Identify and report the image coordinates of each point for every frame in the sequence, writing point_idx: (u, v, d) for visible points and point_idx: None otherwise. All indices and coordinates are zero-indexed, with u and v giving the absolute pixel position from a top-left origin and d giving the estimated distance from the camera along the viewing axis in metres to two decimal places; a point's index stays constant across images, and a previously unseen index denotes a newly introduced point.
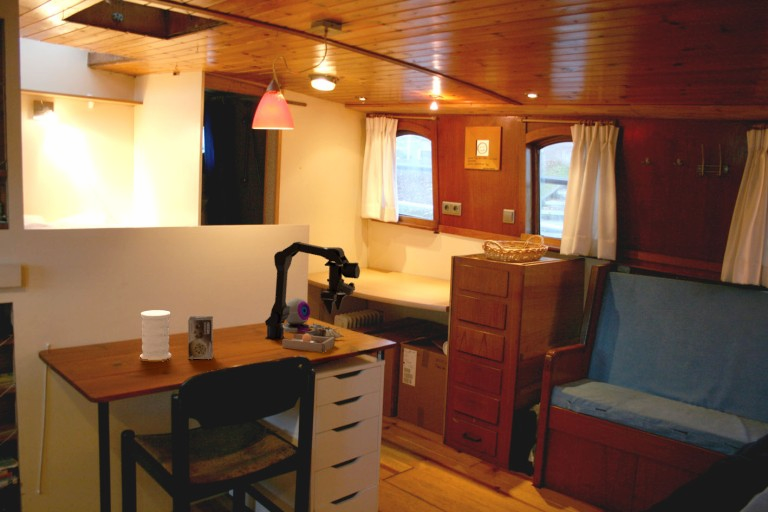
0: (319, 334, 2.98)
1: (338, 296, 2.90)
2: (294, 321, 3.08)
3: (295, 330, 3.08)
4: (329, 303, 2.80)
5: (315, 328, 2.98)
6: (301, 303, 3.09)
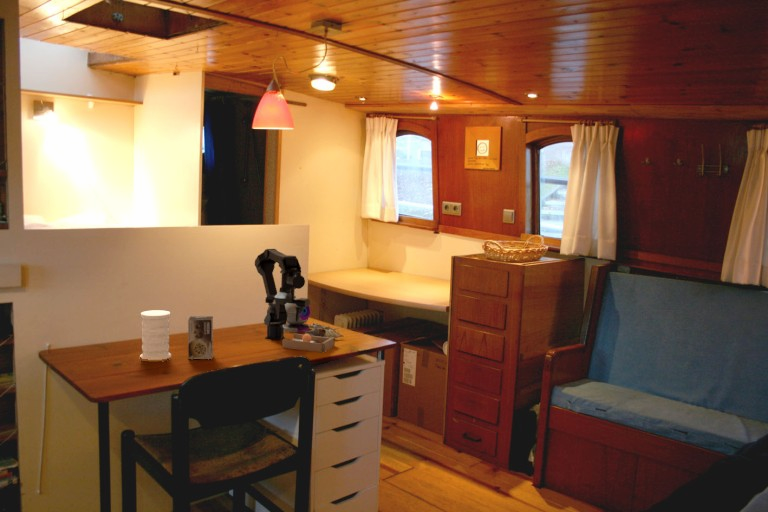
0: (319, 334, 2.98)
1: None
2: (294, 321, 3.08)
3: (295, 330, 3.08)
4: None
5: (315, 328, 2.99)
6: None
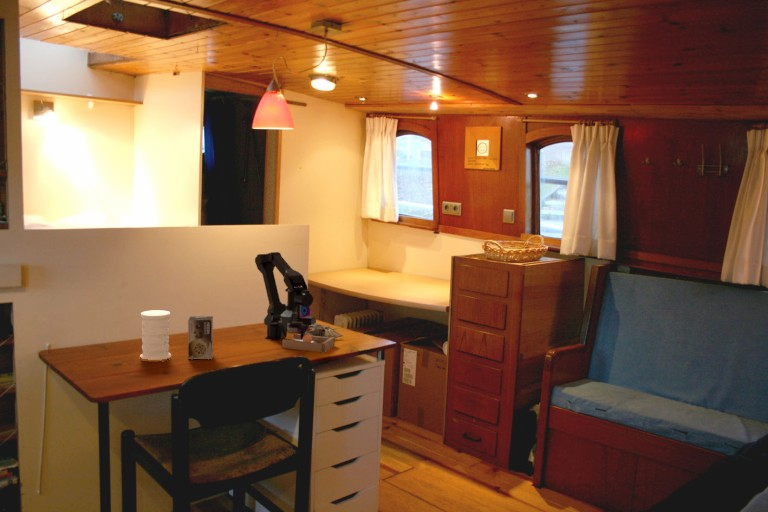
0: (319, 334, 2.99)
1: None
2: (294, 321, 3.08)
3: (295, 330, 3.08)
4: None
5: (315, 328, 2.99)
6: None
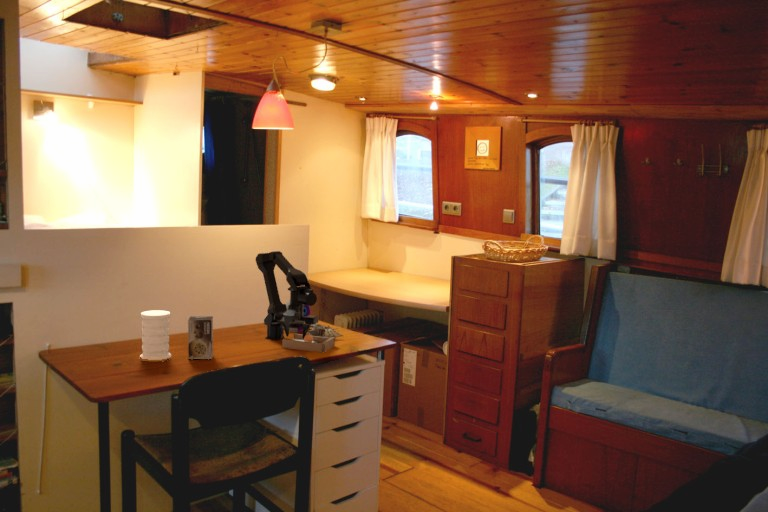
0: (318, 333, 2.99)
1: None
2: None
3: (295, 330, 3.08)
4: None
5: (315, 327, 2.99)
6: None
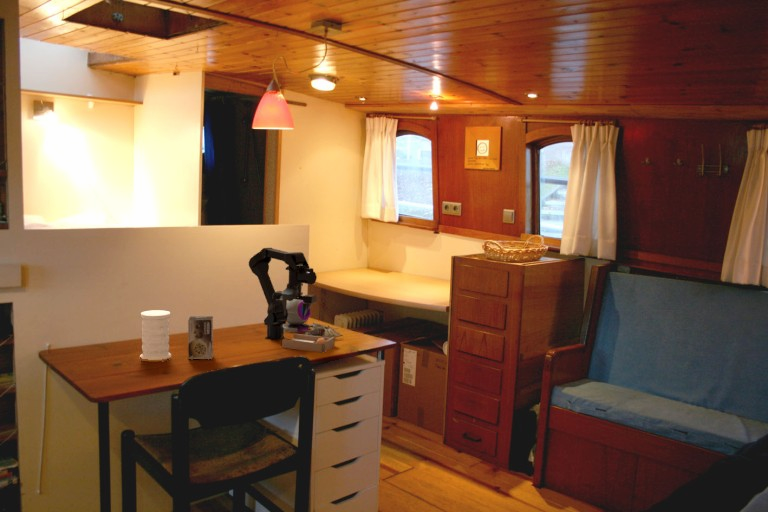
0: (318, 333, 2.99)
1: None
2: (294, 321, 3.08)
3: (295, 330, 3.08)
4: None
5: (314, 327, 3.00)
6: (301, 303, 3.09)
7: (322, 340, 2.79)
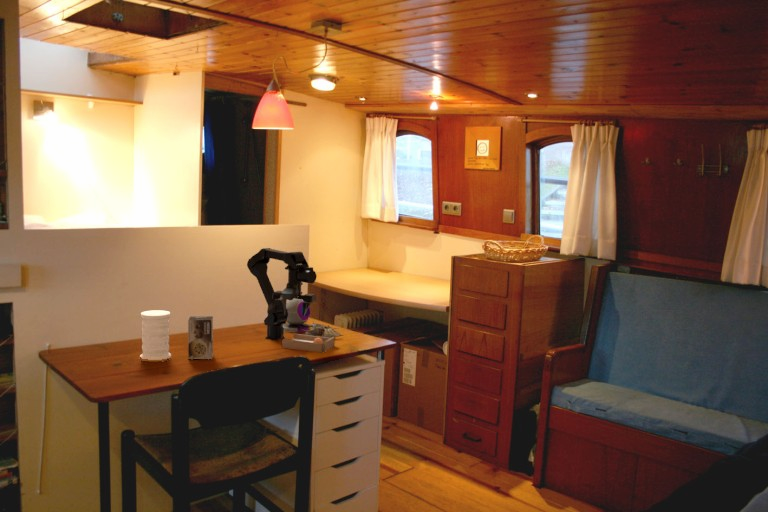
0: (318, 333, 3.00)
1: None
2: (294, 321, 3.08)
3: (295, 330, 3.08)
4: None
5: (314, 327, 3.00)
6: (301, 303, 3.09)
7: (317, 339, 2.80)
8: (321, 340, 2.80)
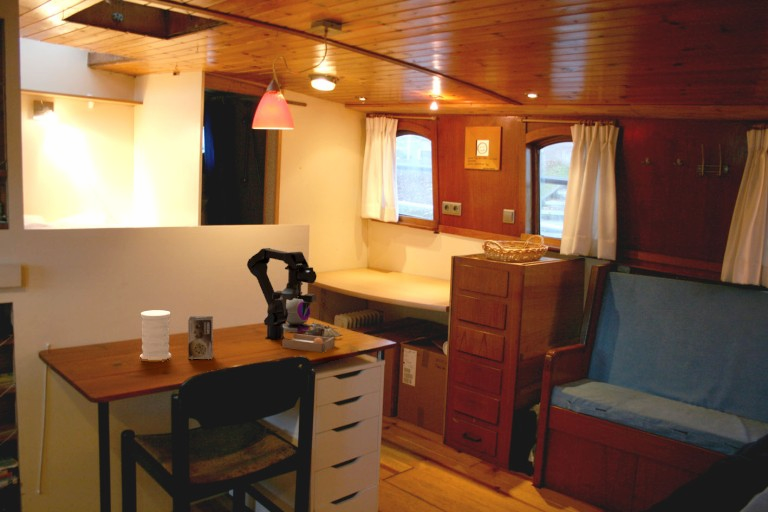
0: (318, 333, 3.00)
1: None
2: (294, 321, 3.08)
3: (295, 330, 3.08)
4: None
5: (314, 327, 3.00)
6: (301, 303, 3.09)
7: (317, 339, 2.80)
8: (321, 340, 2.80)
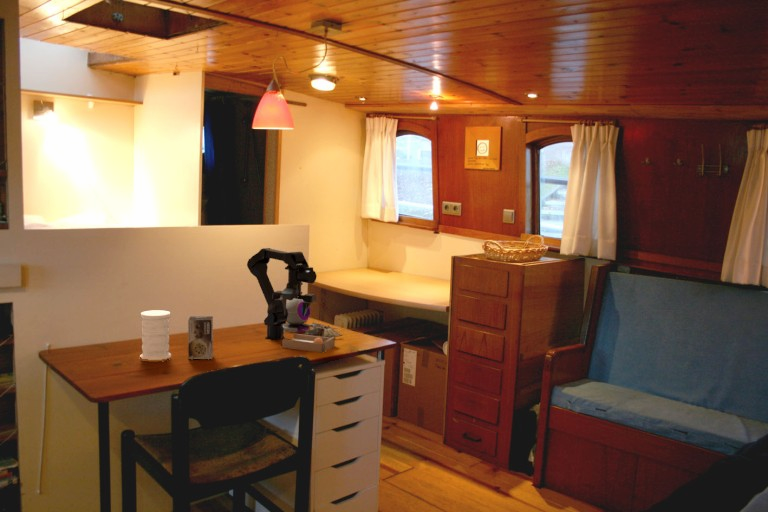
0: (318, 333, 3.00)
1: None
2: (294, 321, 3.08)
3: (295, 330, 3.08)
4: None
5: (314, 327, 3.00)
6: (301, 303, 3.09)
7: (317, 339, 2.80)
8: (321, 340, 2.80)
